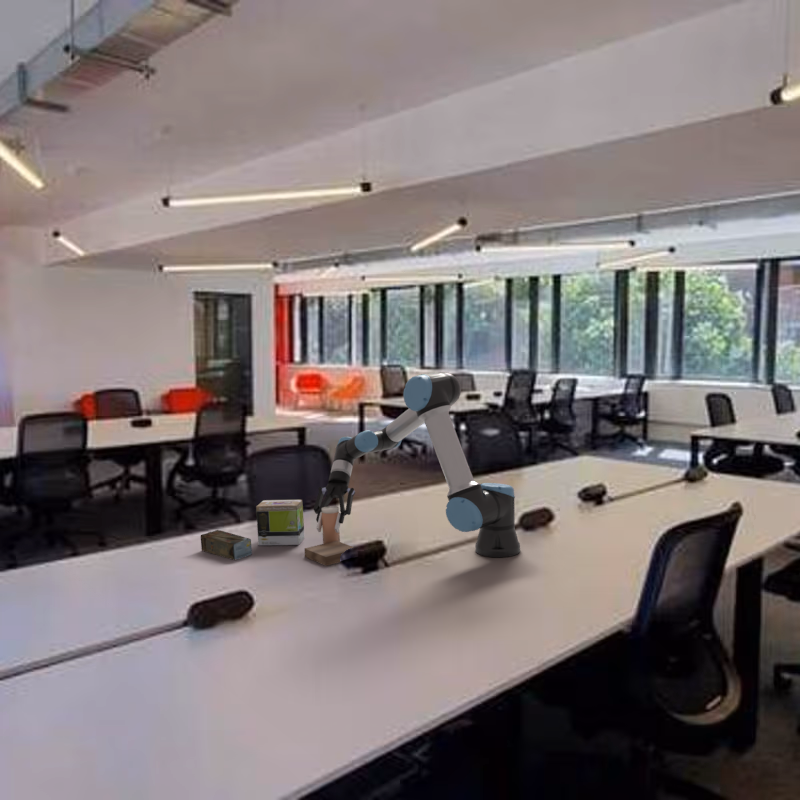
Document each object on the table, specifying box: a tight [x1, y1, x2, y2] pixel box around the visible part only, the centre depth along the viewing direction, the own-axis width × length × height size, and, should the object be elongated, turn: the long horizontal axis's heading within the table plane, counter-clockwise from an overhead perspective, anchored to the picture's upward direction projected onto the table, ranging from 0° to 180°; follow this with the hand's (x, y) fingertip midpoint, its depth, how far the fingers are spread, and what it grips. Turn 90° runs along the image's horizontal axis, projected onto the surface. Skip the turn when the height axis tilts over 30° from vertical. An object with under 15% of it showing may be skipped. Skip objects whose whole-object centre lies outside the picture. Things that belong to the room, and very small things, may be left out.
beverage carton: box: [200, 529, 253, 561], centre depth 271 cm, size 8×19×7 cm, turn 50°
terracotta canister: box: [321, 505, 341, 544], centre depth 277 cm, size 6×6×13 cm
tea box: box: [255, 499, 305, 546], centre depth 282 cm, size 15×10×15 cm, turn 84°
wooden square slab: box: [304, 541, 354, 566], centre depth 263 cm, size 13×13×3 cm
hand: (327, 530), depth 273 cm, fingers closed on terracotta canister, 6 cm apart
